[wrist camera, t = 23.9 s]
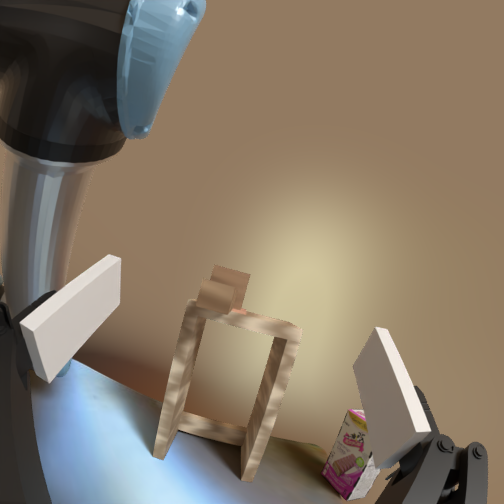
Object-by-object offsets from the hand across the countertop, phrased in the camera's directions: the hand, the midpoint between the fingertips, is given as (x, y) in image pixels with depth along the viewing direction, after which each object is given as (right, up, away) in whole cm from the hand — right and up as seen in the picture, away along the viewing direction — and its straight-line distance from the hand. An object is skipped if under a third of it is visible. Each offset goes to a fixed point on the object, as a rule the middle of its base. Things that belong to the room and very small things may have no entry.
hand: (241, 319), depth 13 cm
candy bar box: (+18, -42, +25) cm, 52 cm away
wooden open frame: (-8, -36, +31) cm, 48 cm away
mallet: (-4, -5, +28) cm, 28 cm away
